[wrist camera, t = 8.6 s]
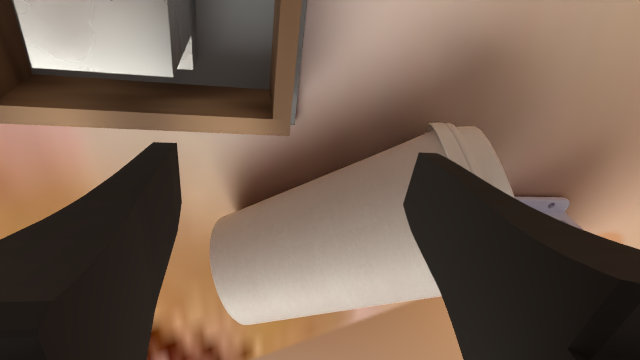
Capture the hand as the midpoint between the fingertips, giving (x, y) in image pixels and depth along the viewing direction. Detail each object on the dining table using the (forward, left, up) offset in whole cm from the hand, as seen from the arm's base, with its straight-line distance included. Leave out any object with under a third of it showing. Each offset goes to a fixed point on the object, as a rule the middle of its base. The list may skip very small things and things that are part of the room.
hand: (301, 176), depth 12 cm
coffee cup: (+2, +12, -7) cm, 14 cm away
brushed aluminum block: (+6, -2, -10) cm, 12 cm away
